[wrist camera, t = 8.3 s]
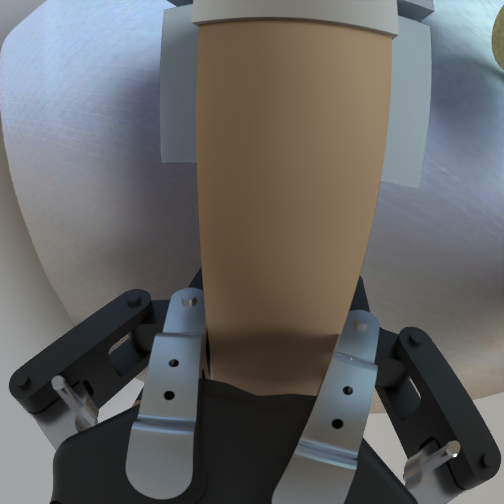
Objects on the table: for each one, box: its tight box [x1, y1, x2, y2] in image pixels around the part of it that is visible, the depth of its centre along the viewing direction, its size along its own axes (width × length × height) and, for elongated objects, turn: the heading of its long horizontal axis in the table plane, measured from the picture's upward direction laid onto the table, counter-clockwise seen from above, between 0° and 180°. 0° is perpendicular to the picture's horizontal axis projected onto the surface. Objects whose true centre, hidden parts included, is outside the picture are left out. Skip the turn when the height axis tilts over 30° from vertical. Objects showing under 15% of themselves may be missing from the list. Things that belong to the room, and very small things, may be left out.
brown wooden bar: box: [191, 0, 399, 396], centre depth 10 cm, size 4×21×6 cm, turn 178°
